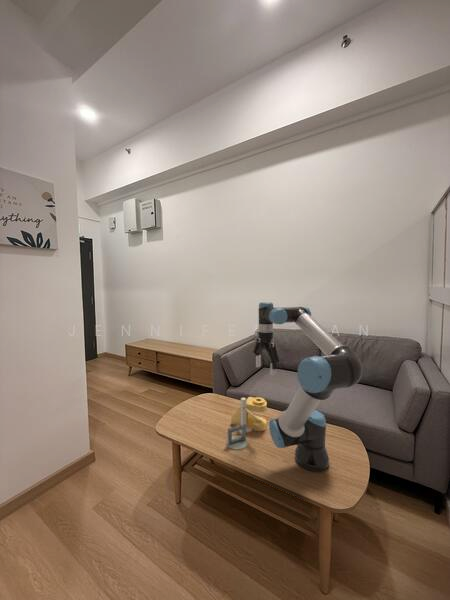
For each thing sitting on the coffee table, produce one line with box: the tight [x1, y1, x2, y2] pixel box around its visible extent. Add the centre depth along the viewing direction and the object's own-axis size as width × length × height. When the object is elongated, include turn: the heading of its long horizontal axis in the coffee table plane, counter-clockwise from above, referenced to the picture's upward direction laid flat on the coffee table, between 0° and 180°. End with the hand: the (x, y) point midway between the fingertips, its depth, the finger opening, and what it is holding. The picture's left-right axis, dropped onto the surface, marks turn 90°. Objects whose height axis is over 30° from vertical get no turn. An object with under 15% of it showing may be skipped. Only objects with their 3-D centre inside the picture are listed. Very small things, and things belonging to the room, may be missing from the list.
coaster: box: [226, 434, 249, 451], centre depth 128 cm, size 11×11×1 cm
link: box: [227, 424, 247, 445], centre depth 128 cm, size 2×10×8 cm, turn 115°
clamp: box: [230, 396, 268, 432], centre depth 145 cm, size 20×9×16 cm, turn 63°
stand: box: [234, 397, 260, 435], centre depth 134 cm, size 20×7×18 cm, turn 25°
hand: (265, 370), depth 131 cm, fingers open, 13 cm apart
